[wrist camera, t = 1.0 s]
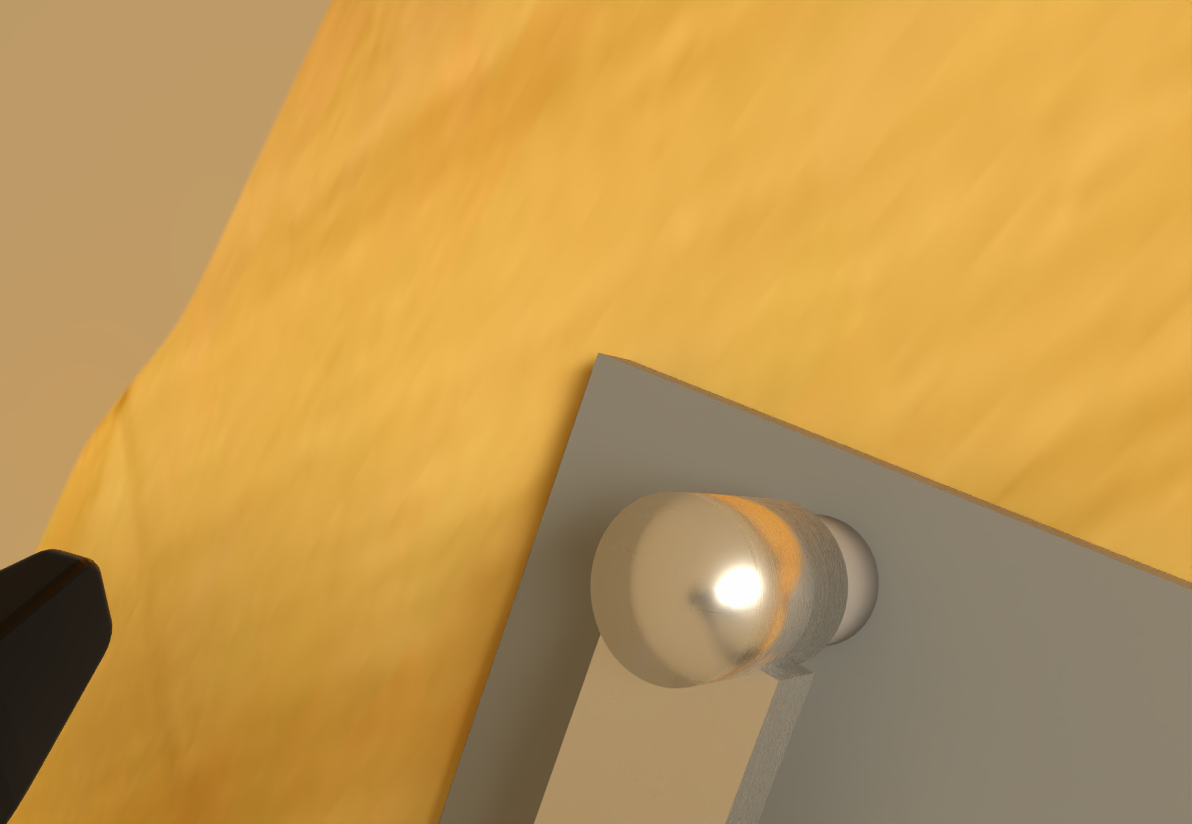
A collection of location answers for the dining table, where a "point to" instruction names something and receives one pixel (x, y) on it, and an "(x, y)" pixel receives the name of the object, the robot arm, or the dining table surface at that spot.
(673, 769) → the swing arm
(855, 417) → the dining table surface
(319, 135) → the dining table surface
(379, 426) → the dining table surface
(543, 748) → the label board
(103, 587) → the robot arm
